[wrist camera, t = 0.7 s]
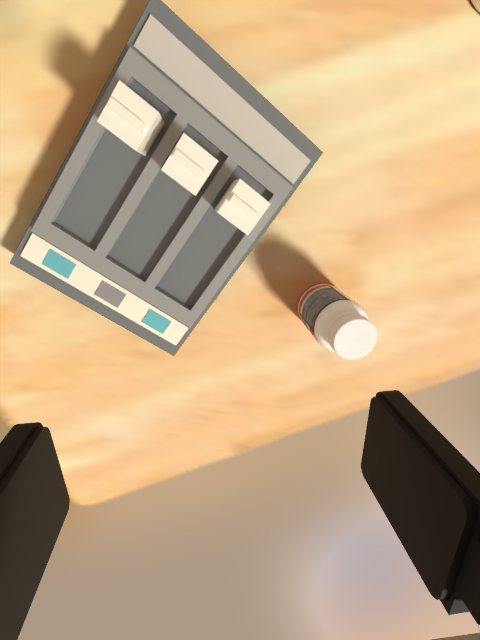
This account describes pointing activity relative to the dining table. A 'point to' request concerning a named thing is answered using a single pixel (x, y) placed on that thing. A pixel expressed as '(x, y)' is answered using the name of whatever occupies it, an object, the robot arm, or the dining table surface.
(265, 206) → the tab
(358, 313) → the pill bottle
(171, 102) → the switch bank
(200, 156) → the tab
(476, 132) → the dining table surface
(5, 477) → the robot arm
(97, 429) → the dining table surface
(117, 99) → the tab
